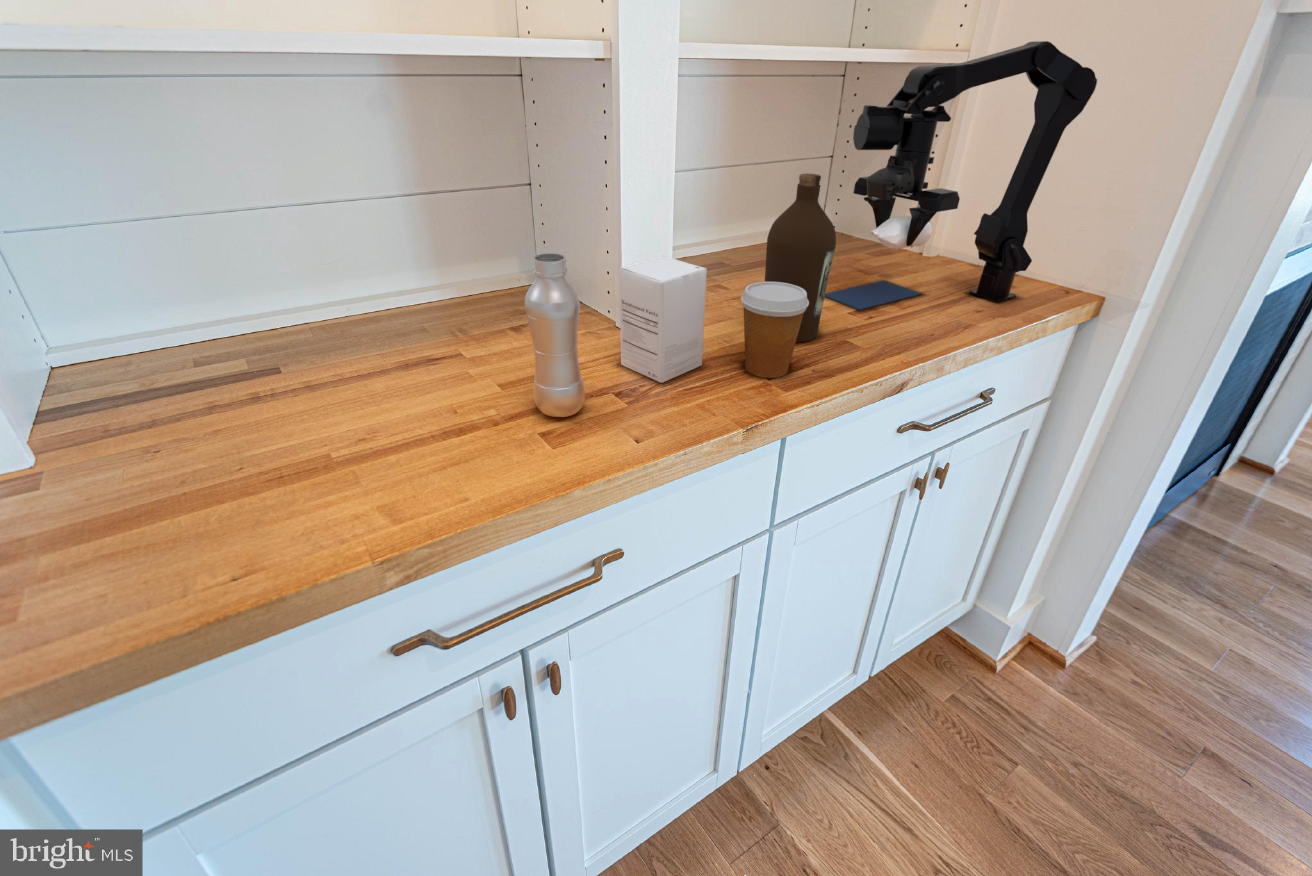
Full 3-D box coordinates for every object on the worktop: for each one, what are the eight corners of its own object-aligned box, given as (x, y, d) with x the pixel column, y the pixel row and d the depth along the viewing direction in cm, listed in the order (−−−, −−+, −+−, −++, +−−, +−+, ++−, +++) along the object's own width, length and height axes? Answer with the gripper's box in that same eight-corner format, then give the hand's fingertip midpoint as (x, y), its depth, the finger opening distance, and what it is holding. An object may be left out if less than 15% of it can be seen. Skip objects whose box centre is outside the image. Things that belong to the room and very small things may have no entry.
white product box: (661, 348, 101) (663, 253, 93) (703, 366, 95) (709, 267, 88) (618, 364, 95) (617, 265, 87) (660, 384, 90) (663, 280, 82)
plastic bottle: (564, 428, 79) (554, 269, 68) (523, 413, 82) (507, 259, 72) (595, 407, 84) (590, 256, 73) (556, 394, 87) (545, 246, 76)
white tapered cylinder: (857, 248, 118) (863, 216, 115) (904, 241, 123) (910, 211, 120) (881, 256, 114) (887, 223, 111) (928, 248, 119) (935, 217, 116)
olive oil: (754, 340, 104) (771, 178, 91) (760, 318, 113) (777, 167, 100) (820, 347, 102) (847, 183, 89) (821, 324, 111) (846, 171, 98)
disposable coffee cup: (779, 389, 89) (790, 307, 83) (722, 370, 94) (728, 292, 88) (809, 367, 96) (821, 289, 90) (754, 350, 101) (762, 276, 94)
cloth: (883, 281, 133) (883, 280, 133) (921, 294, 126) (922, 293, 126) (822, 295, 124) (822, 294, 124) (859, 310, 118) (859, 308, 117)
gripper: (840, 146, 112) (826, 236, 121) (930, 160, 99) (907, 260, 107) (882, 143, 118) (866, 229, 126) (972, 156, 104) (948, 251, 113)
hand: (894, 241), depth 118 cm, fingers closed on white tapered cylinder, 6 cm apart
